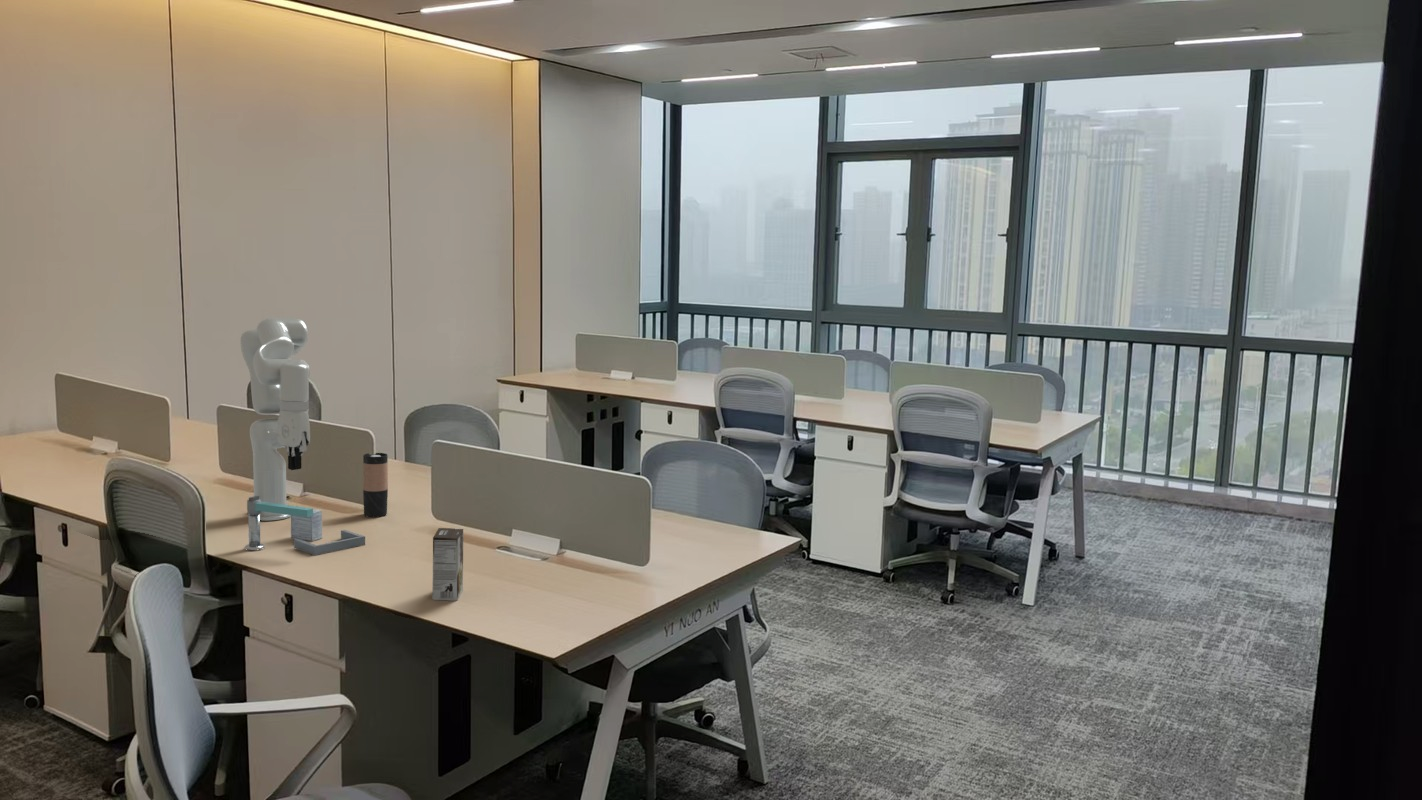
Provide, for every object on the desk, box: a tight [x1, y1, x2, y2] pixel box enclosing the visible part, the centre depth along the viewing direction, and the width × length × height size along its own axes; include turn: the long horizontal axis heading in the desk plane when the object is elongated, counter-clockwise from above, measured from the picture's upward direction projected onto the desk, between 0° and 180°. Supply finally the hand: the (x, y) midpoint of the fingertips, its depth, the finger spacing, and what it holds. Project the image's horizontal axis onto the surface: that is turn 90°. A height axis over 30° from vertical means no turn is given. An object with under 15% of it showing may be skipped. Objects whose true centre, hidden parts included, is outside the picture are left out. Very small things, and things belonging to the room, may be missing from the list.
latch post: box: [244, 514, 265, 551], centre depth 290 cm, size 5×5×10 cm
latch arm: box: [246, 495, 314, 517], centre depth 286 cm, size 4×21×5 cm, turn 72°
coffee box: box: [432, 527, 464, 601], centre depth 256 cm, size 9×6×16 cm
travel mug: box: [362, 452, 389, 518], centre depth 333 cm, size 8×8×20 cm
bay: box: [293, 529, 366, 556], centre depth 296 cm, size 10×16×2 cm, turn 142°
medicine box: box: [290, 508, 323, 542], centre depth 303 cm, size 8×4×9 cm, turn 71°
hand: (294, 468), depth 293 cm, fingers closed
